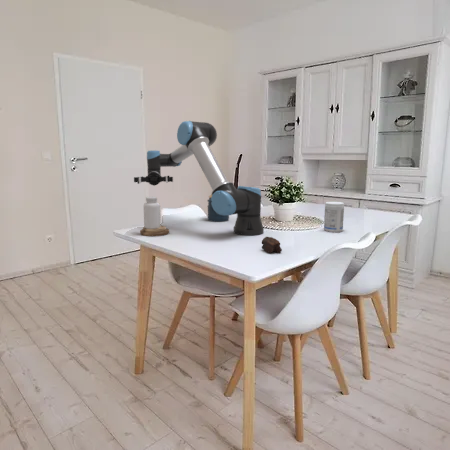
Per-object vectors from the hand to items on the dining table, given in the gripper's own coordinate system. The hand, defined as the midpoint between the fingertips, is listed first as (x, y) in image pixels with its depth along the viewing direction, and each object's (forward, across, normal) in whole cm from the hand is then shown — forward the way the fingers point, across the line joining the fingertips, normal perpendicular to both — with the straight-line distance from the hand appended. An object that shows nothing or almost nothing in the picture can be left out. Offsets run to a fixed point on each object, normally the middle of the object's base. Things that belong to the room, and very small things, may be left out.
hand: (153, 180), depth 189 cm
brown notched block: (+51, -47, -28) cm, 75 cm away
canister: (-23, -37, -26) cm, 51 cm away
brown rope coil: (+10, 0, -26) cm, 27 cm away
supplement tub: (+15, -92, -27) cm, 97 cm away
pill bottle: (+10, +1, -23) cm, 25 cm away
